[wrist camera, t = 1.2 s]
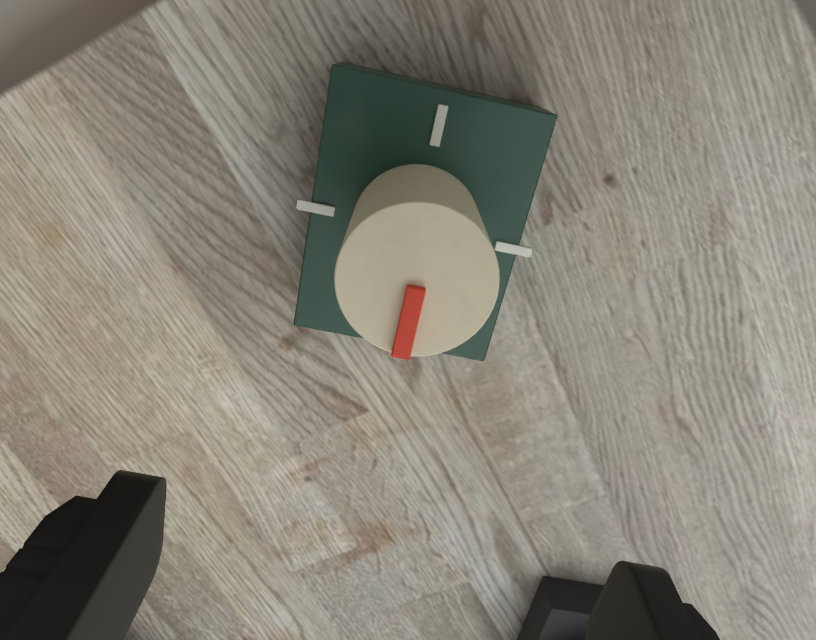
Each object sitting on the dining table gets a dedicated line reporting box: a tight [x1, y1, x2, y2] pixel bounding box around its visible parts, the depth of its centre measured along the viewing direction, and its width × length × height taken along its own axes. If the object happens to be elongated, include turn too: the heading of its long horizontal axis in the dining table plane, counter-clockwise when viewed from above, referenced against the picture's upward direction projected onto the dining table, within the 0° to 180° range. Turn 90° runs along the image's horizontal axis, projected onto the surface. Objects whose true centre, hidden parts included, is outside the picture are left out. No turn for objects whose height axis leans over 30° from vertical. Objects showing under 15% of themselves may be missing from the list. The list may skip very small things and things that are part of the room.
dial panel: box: [294, 62, 557, 361], centre depth 24 cm, size 10×9×3 cm
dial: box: [334, 164, 500, 360], centre depth 20 cm, size 5×5×6 cm
